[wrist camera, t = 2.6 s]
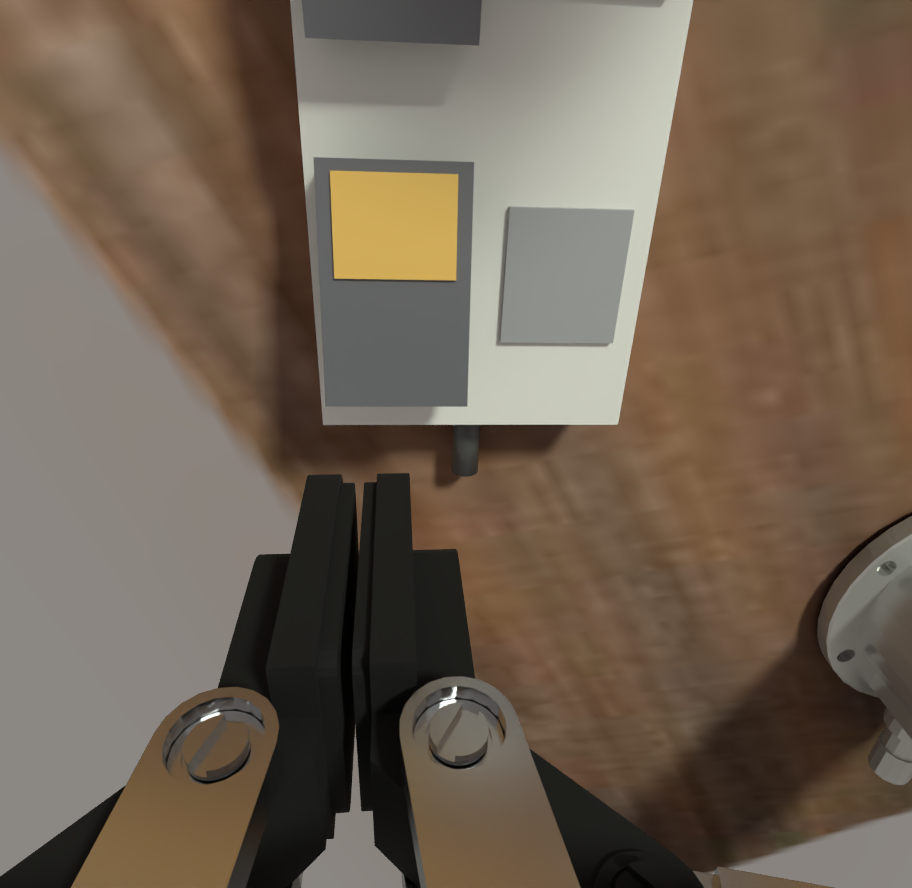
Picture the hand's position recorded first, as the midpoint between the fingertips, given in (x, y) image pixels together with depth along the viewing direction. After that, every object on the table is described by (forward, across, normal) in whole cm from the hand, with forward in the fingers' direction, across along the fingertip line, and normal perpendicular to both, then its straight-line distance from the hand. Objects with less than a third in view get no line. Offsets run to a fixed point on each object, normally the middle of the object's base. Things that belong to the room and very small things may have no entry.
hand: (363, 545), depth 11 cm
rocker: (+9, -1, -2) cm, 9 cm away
